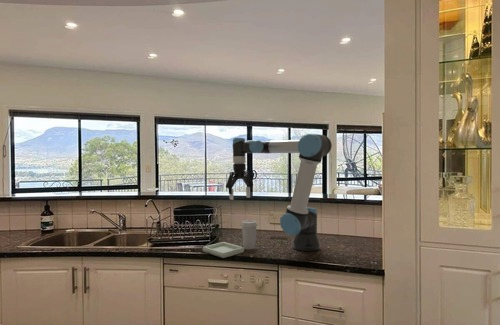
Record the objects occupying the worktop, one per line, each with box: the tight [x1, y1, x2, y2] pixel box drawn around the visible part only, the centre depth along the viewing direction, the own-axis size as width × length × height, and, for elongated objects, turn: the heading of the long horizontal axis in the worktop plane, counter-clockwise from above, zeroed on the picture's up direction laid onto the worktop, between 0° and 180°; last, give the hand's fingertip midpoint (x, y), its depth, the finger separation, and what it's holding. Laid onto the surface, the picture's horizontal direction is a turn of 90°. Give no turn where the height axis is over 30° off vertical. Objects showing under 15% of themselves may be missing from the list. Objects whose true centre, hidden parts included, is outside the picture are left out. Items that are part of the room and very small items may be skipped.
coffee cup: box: [240, 219, 259, 251], centre depth 184 cm, size 10×10×15 cm
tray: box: [202, 241, 245, 259], centre depth 176 cm, size 17×15×2 cm
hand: (240, 198), depth 195 cm, fingers open, 13 cm apart
